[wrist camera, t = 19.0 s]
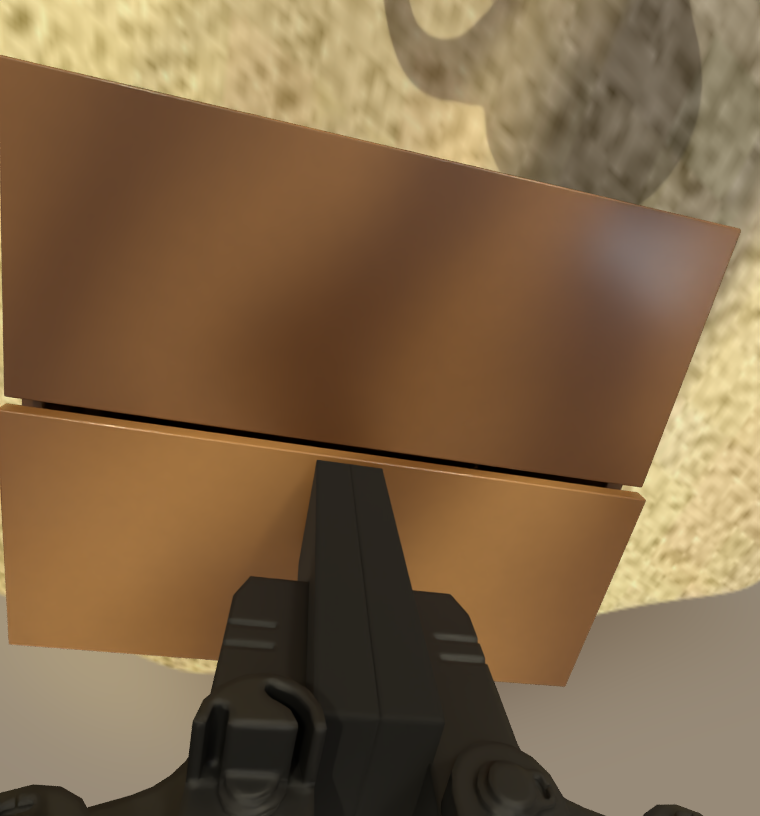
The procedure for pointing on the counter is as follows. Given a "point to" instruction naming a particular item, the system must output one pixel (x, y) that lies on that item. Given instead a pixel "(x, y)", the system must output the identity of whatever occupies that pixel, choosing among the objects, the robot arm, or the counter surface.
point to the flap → (278, 539)
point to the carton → (335, 288)
